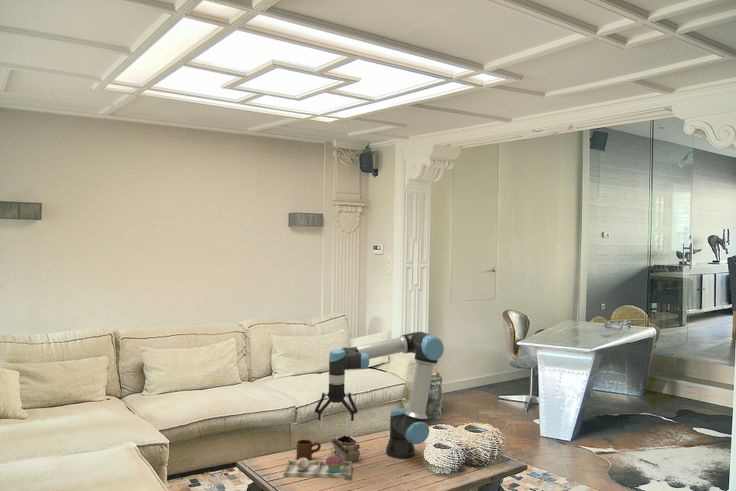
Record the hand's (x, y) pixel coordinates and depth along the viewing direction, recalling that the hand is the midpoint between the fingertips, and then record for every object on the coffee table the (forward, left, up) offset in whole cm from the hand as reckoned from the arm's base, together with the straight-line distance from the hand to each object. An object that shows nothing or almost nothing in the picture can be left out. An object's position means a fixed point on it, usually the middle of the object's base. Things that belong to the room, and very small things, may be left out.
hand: (335, 427), depth 290 cm
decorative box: (-3, -21, -22) cm, 31 cm away
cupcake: (0, 0, -21) cm, 21 cm away
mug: (+14, -15, -22) cm, 30 cm away
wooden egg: (+15, 0, -21) cm, 26 cm away
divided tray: (+8, 0, -22) cm, 23 cm away
